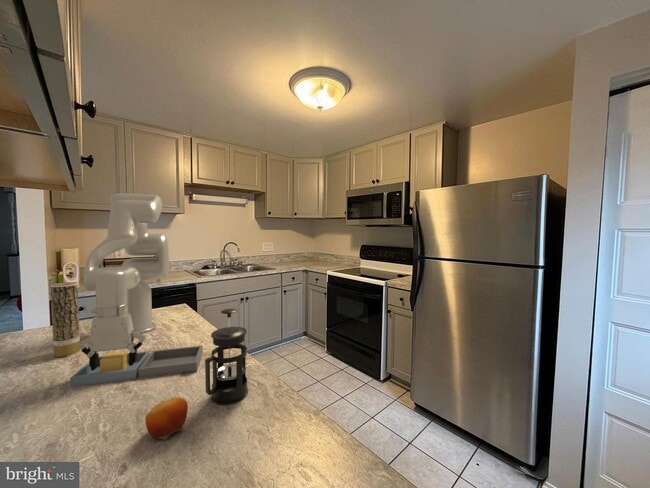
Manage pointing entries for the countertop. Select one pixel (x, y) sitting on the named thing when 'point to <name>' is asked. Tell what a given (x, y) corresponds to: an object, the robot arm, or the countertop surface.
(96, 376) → the slate-blue tray
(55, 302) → the paper tube
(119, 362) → the ochre block
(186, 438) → the countertop surface
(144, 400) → the countertop surface
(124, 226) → the robot arm
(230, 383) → the french press
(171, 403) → the fruit
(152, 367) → the charcoal tray
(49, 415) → the countertop surface
